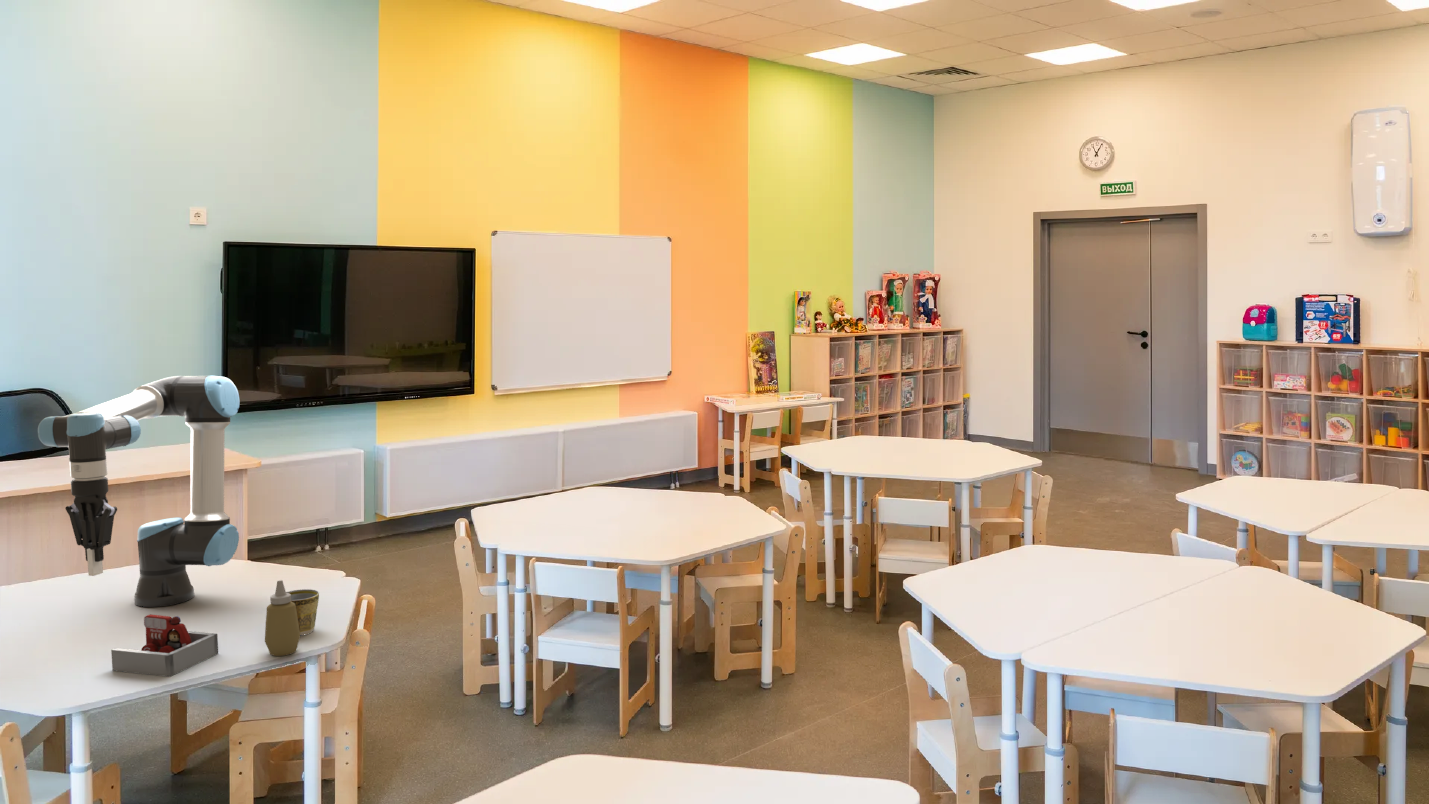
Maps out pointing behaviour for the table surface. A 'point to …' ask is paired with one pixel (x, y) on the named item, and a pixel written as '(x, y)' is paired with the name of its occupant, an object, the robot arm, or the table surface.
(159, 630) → the toy fire truck
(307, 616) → the ceramic cup
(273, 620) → the squeeze bottle
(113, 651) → the box
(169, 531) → the robot arm
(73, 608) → the table surface
